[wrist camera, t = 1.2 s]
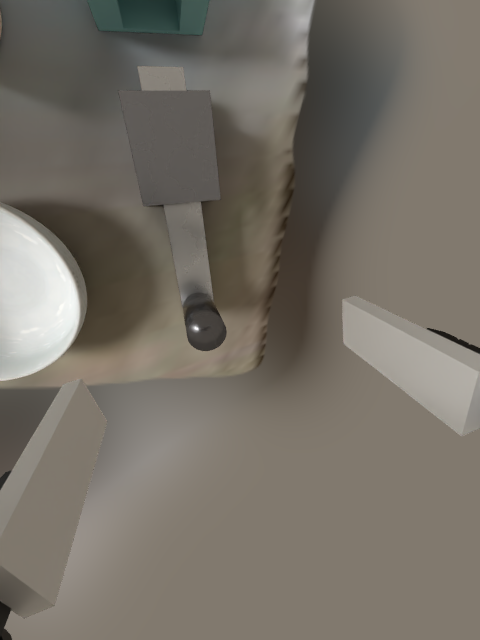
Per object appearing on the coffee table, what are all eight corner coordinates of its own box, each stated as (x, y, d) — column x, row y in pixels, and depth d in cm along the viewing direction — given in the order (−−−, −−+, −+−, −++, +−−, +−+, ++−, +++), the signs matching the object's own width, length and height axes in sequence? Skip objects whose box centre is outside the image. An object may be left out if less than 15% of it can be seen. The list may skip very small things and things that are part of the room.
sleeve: (147, 206, 28) (143, 206, 23) (128, 116, 25) (118, 90, 19) (210, 200, 30) (220, 199, 24) (200, 115, 26) (209, 90, 21)
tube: (183, 313, 33) (190, 354, 24) (141, 85, 23) (125, 6, 14) (211, 308, 34) (228, 346, 25) (180, 85, 24) (190, 10, 15)
